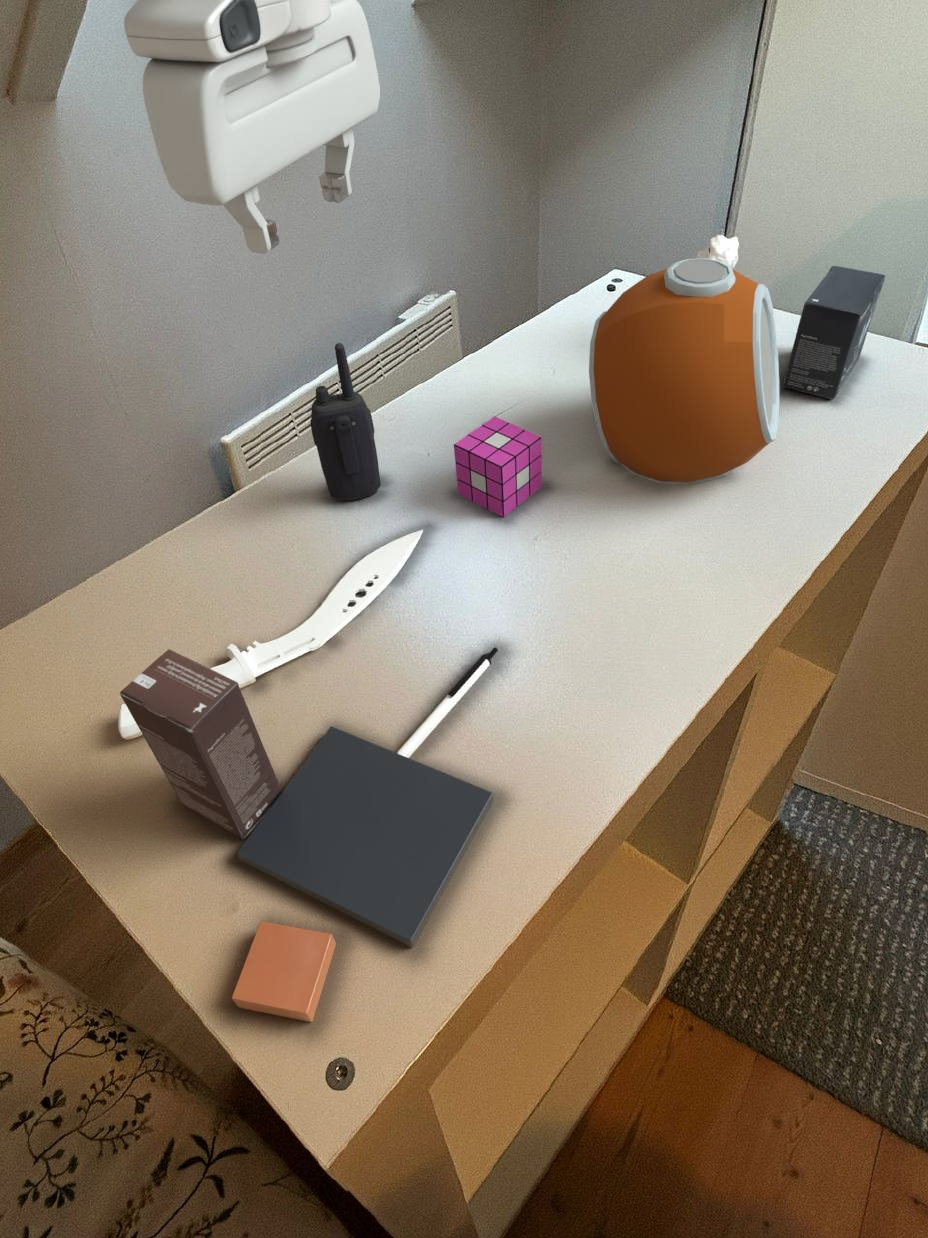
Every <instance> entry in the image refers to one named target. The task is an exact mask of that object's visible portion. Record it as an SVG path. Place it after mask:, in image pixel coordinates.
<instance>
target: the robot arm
mask: <svg viewBox="0 0 928 1238" xmlns="http://www.w3.org/2000/svg"><path fill="white" fill-rule="evenodd" d="M123 27H124V31H125V32H124V33H125V35H126V39H127V42H128V45H129V47H130V49H131V51H132V52H133V54H135V55H136V56H137V57H140V58H146V59H150V60H149V61H148V62H147V64H146V65H145V68H144V71H143V74H142V94H143V100H144V101H143V102H144V105H145V110H146V114H147V117H148V122H149V126H150V129H151V130H150V131H151V133H152V137H153V140H154V144H155V148H156V150H157V154H158V157H159V160H160V163H161V167H162V170H163V172H164V175H165V178H166V180H167V183H168V185H169V187H171V189H172V190H173V191H174V192H175V193H176V194H177V195H178V196H179V197H180V198H182V200H184V201H185V202H189V203H194V204H201V205H207V206H215V207H216V206H223V208H225V210H226V211H227V212H228V214H230V216H231V217H232V218H233V219H234V220H235V221H236V223H237V224H238V225H239V226H240V227H241V228H242V232H243V236H244V240H245V243H246V247H247V248H248V250H249V251H251V252H252V253H256V254H263V255H265V254H267V253H268V252H270V251H272V250H273V249H274V248H276V247H277V246H279V244H280V238H279V236H278V234H277V232H278V230H277V224H276V221H275V220H274V219H268V218H267V219H265V218H264V216H263V214H262V213H261V211H260V210H259V209H258V207H257V205H256V204H257V203H258V202H260V194H259V189H258V185H259V184H261V183H263V182H264V181H266V180H268V179H269V178H271V177H273V176H275V175H276V174H278V173H279V172H281V171H283V170H284V169H286V168H287V167H290V166H291V165H292V164H294V163H296V162H298V161H299V160H301V159H304V157H306V156H308V155H309V154H311V153H313V152H314V151H316V150H318V149H319V148H321V147H323V146H325V155H324V157H325V158H324V172H323V173H322V174H320V175H319V176H318V178H319V183H320V187H321V195H322V198H323V199H324V200H325V201H326V202H329V203H333V202H334V203H337V204H339V203H341V202H343V201H344V200H346V199H347V198H348V197H350V196H351V195H352V193H353V190H352V182H351V176H350V171H351V166H352V161H353V156H354V155H353V154H354V148H355V142H356V141H355V135H354V129H353V128H355V127H356V126H358V125H360V124H361V123H363V122H365V121H367V120H368V119H370V118H371V117H373V116H375V115H376V114H377V113H378V109H379V106H380V100H381V85H380V78H379V72H378V67H377V61H376V57H375V52H374V47H373V42H372V38H371V32H370V28H369V24H368V20H367V17H366V15H365V12H364V9H363V7H362V5H361V4H360V2H358V0H137V1H136V2H135V3H134V4H133V5H132V6H131V7H130V8H129V10H128V11H127V12H126V14H125V16H124V19H123Z"/></svg>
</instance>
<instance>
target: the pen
mask: <svg viewBox="0 0 928 1238" xmlns="http://www.w3.org/2000/svg"><path fill="white" fill-rule="evenodd" d="M498 652H499V649H498V648H497V647H495V646H494V647H493V648H492V649H491V650H490V652H488V653H487V654H484V653H483V654H482V655H481V656H480V657H479V658H478V660H476V661H475V663H474V664H473V665H472V666H471V667H470V668H469V669H468V670H467V672H465V674H464V675H463V676H462V677H461V678H460V679H459V681H457V683H455V685H454V686H453V687H452V689H451V690H450V691H448V693H447V694H446V696H445V697H444V698H443V700H441V702H439V704H438V705H437V706H436V707H435V709H434V710H433V711H432V712H431V713H430V714H429V715H428V716H427V718H425V720H424V721H423V722H422V723H421V725H419V726H418V728H417V729H416V730H415V731H414V732H413V733H412V734H411V736H410V737H409V738H408V739H407V740H406V741H405V742H404V744H403V745H402V746H401V747H400V748H399V749H398V750H397V751H396V753H397V754H400V755H402V756H405V757H407V758H409V759H410V758H411V756H412V755H413V754H414V753H415V751H416V750H417V749H418V748H419V747H420V746H421V745H422V743H424V741H425V740H426V739H427V738H428V736H430V734H432V732H433V731H434V730H435V729H436V727H437V726H438V725H439V724H440V723H441V722H442V721H443V719H445V717H446V716H447V715H448V714H449V713H450V711H451V710H452V709H453V708H454V707H455V706H456V705H457V703H458V702H460V700H461V699H462V698H463V697H464V695H465V694H466V693H467V692H468V691H469V689H471V688H472V686H473V685H474V684H475V683H476V681H477V680H478V679H479V678H480V677H481V676H482V675H483V673H484V672H485V671H486V670H487V669H488V668H489V666H491V664H492V658H493V657H494V656H495V655H496V654H497V653H498Z"/></svg>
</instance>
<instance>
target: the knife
mask: <svg viewBox="0 0 928 1238" xmlns="http://www.w3.org/2000/svg"><path fill="white" fill-rule="evenodd" d="M423 532H424V529H420V530H417V531H413V532H411V533H408V534H405V535H403V536H401V537H399V538H396V539H395V540H392V541H389V542H388V543H387V544H385V545H383V546H380V547H378V548H377V549H375V550H373V551H372V552H370V553H368V554H367V555H364V557H362V558H361V559H360V560H359V561H357V562H356V563H355V564H354V565H353V566H352V567H351V568H349V570H348V571H347V572H346V573H345V574H344V575H343V576H342V577H341V579H339V580H338V582H337V583H336V584H335V586H334V587H333V588H332V590H331V591H330V592H329V594H328V595H327V596H326V598H325V599H324V601H322V603H321V605H320V606H319V607H318V608H317V609H316V610H315V612H313V614H312V615H311V616H310V617H309V618H308V619H306V620H305V621H304V622H302V623H301V625H299V626H298V627H296V628H295V629H293V630H292V631H290V632H288V633H286V634H284V635H282V636H280V637H277V638H275V639H273V640H269V641H267V642H262V643H261V642H258V641H257V640H254V641H253V642H252V646H253V647H252V646H251V645H248V646H247V647H246V650H243V651H241V650H240V649H239V647H237V646H236V645H235V644H233V643H230V644H229V645H228V646H227V647H226V654H227V656H228V658H229V659H230V660H229V661H227V662H226V663H222V664H219V665H217V666H213V667H209V669H211V670H214V671H216V672H218V673H220V674H222V675H224V676H226V677H227V678H230V679H232V680H234V681H236V682H238V685H239V688H240V690H241V689H243V688H245V687H247V686H250V685H252V684H254V683H256V682H257V680H256V677H259V676H261V675H263V674H265V673H267V672H269V671H271V670H273V669H275V668H277V667H280V666H283V664H286V663H288V662H290V661H292V660H294V659H296V658H298V657H300V656H302V655H304V654H306V653H309V652H312V651H316V650H318V649H320V648H322V646H323V645H324V644H326V643H327V642H328V641H329V640H330V639H332V637H334V636H335V635H336V634H337V633H338V632H339V631H341V630H342V629H343V628H344V627H345V626H346V625H348V624H349V623H350V622H351V621H352V620H353V619H354V618H356V617H357V616H358V615H359V614H360V613H361V612H363V610H364V609H365V608H366V607H368V606H369V604H371V603H372V602H373V601H374V600H375V599H376V598H377V597H378V596H379V595H380V594H381V593H382V592H383V591H384V590H385V589H386V588H387V587H388V586H389V584H390V583H391V582H393V580H394V578H395V577H397V575H398V573H399V572H400V571H401V569H402V568H403V566H404V565H405V564H406V562H407V560H409V558H410V556H411V554H412V553H413V551H414V549H415V548H416V546H417V544H418V542H419V541H420V539H421V537H422V535H423ZM368 584H372V585H371V586H367V585H368ZM360 592H364V593H365V595H364V596H361V597H357V596H356V594H357V593H360ZM350 603H355V604H354V605H353V606H348V605H349V604H350ZM117 720H118V723H117V724H118V725H117V726H118V727H117V728H118V731H119V733H120V737H122V739H124V740H131V739H135V738H138V737H141V736H143V734H142V732H141V731H140V729H139V727H138V725H137V724H136V722H135V720H134V718H133V717H132V715H131V713H130V711H129V709H128V708H127V706H126V704H125V703H121V705H120V710H119V714H118V719H117Z"/></svg>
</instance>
